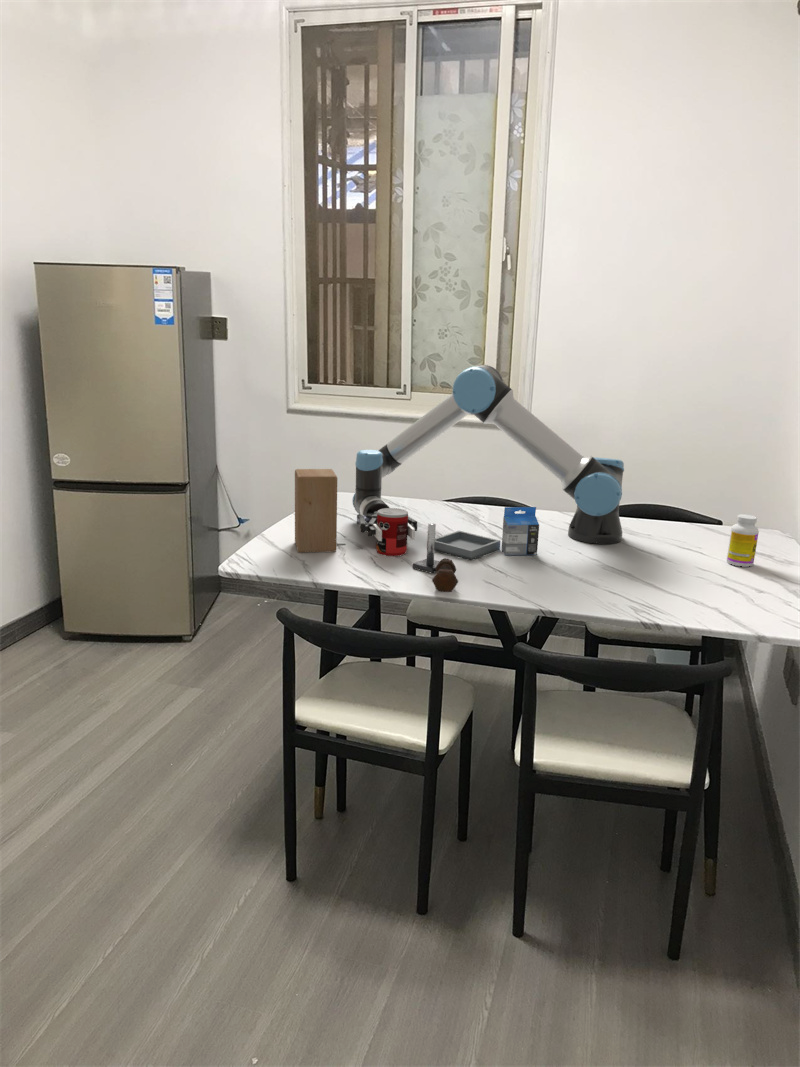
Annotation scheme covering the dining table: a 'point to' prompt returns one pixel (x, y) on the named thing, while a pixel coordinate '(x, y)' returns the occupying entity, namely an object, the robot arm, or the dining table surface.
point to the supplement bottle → (743, 541)
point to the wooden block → (315, 510)
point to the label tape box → (520, 531)
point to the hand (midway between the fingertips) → (396, 535)
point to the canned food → (392, 531)
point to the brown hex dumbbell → (445, 576)
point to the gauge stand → (429, 552)
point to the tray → (466, 545)
